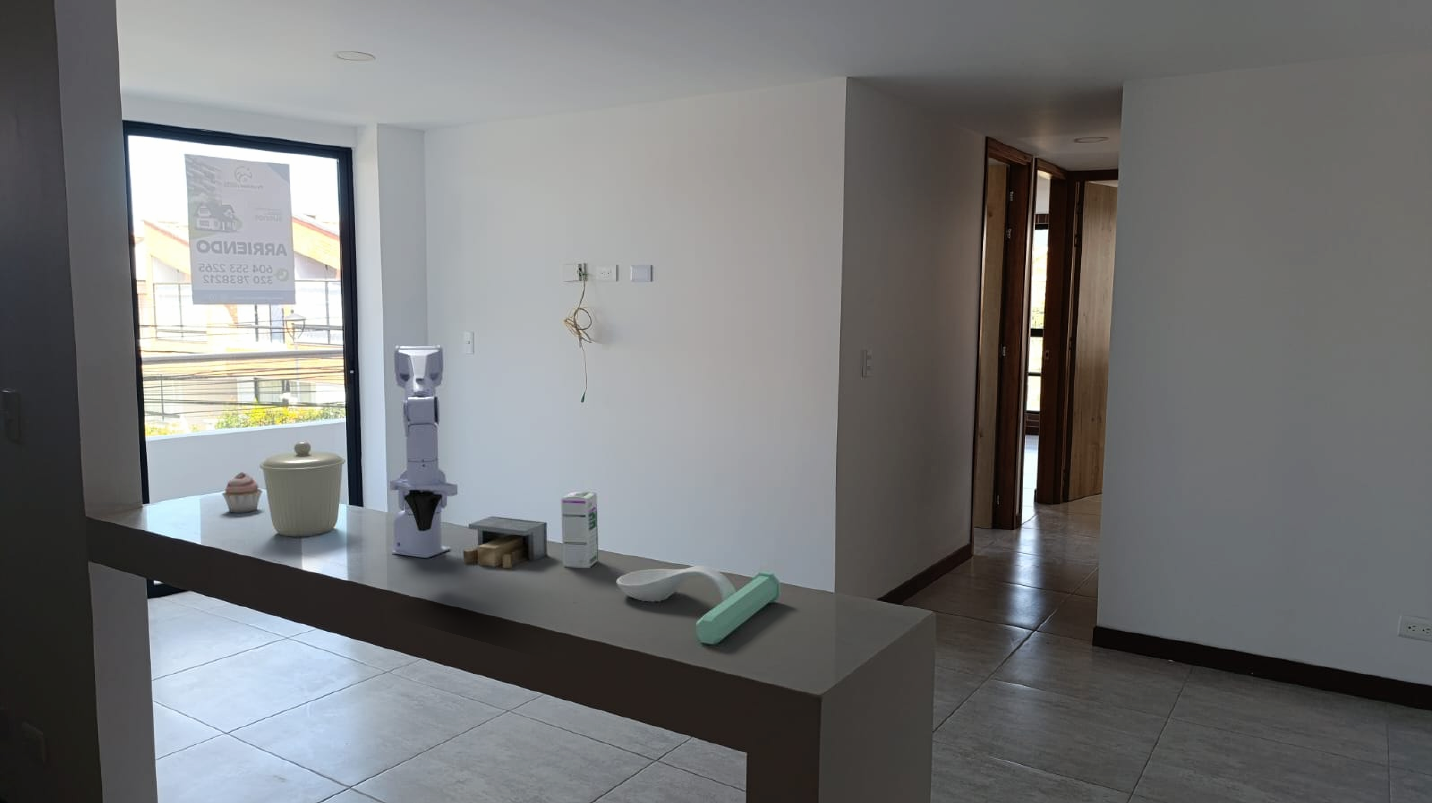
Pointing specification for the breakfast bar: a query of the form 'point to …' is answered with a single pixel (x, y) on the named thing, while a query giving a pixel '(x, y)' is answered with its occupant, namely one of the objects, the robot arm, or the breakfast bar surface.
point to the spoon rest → (669, 582)
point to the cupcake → (242, 494)
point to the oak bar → (497, 550)
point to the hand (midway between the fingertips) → (424, 529)
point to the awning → (501, 527)
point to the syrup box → (579, 529)
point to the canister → (303, 490)
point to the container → (738, 608)
